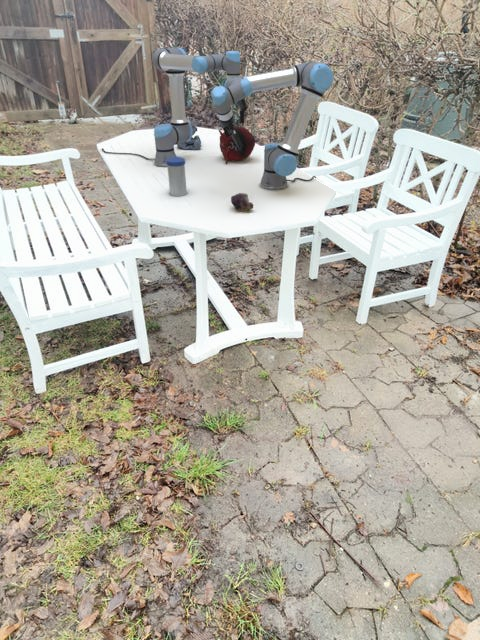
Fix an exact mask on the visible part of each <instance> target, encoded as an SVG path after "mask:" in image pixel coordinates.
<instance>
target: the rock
mask: <svg viewBox="0 0 480 640" xmlns="http://www.w3.org/2000/svg"><path fill="white" fill-rule="evenodd" d="M230 201H231V205H233V206H234V209H235V210H237V211H250V210H253V209H254V204H253V202H250V200H249V195H248V194H247V193H245V192H238V193H236V194H234V195H232V196H231V197H230Z"/></svg>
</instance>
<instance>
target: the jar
mask: <svg viewBox="0 0 480 640" xmlns="http://www.w3.org/2000/svg"><path fill="white" fill-rule="evenodd" d="M166 168H167V176H168V187H169V195H170V196H172V197H183V196H187V193H188V191H187V178H186V163H185V164H184V165H182V166H168V165H167V167H166Z"/></svg>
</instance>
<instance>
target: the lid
mask: <svg viewBox="0 0 480 640" xmlns="http://www.w3.org/2000/svg"><path fill="white" fill-rule="evenodd" d="M166 164H167V165H168V166H182V165H184V164H185V165H186V158H184V157H179V156H176V157H173V158H168V159H166Z"/></svg>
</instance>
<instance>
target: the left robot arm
mask: <svg viewBox="0 0 480 640" xmlns="http://www.w3.org/2000/svg"><path fill="white" fill-rule="evenodd" d="M151 61H152V64H153V67H154V68H155V69H157V70H158V71H161V72H165V74H166V75H167V76H168V83H169V95H170V107H171V120H170V121H169V123H161V124H158V125H156V126H155V127H154V129H153V136H154V145H155V155H154V158H148V157H146V156H145V155H141V154H139V153H131V152H112V151H105V149H104V148H101V151H103V152H104V153H106V154H113V155H114V154H115V155H116V154H118V155H132V156H133V155H134V156H139V157H141V158H144V159H145V160H150V161H154V165H155V166H157V167H163V168H164V167H165V168H167V164H166V159H168V158H173V157H177V153H176V151H175V145H176V146H177V144H180V143H185V142H188V141H189V140H190V139H191V138H192V137H193V136H194V135H193V129H192V127H191V125H190V124H189V123H188V120H187V119H186V118H187V117H186V116H187V115H186V103H185V90H184V88H185V87H184V75H185V74H186V71H187V72H194V73H196V74H203V73H210V72H218V71H222V72H226V80H227V79H229V78H239V77H241V52H240V51H238V50H228V51H226V53H225V54H219V53H216V54H215V53H214V54H211V55H189V54H187V52H186V51H185V50H184V49H183V48H182V47H180V46H179V47H176V46H175V47H162V48H158V49H156V50H155V51H154V52H153V54H152V59H151ZM236 104H237V107H238V108H239V109H240V110H239V123H240V124H245V116H246V112H247V110H248V105H247V101H246V98H244V99H242V100H240V101H238V102H236ZM192 135H193V136H192Z"/></svg>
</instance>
